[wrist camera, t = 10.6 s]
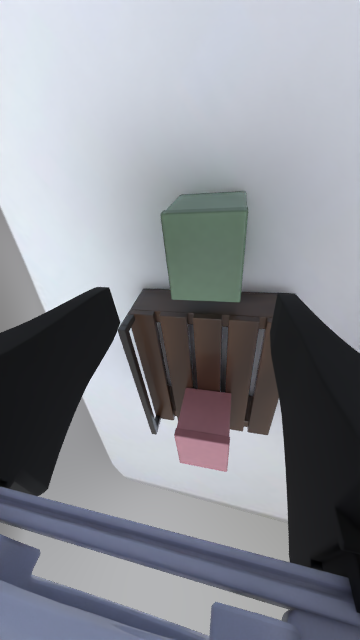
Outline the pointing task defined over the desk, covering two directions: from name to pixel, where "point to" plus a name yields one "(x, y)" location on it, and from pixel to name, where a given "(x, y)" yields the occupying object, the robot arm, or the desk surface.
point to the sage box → (206, 246)
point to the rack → (202, 354)
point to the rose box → (204, 429)
